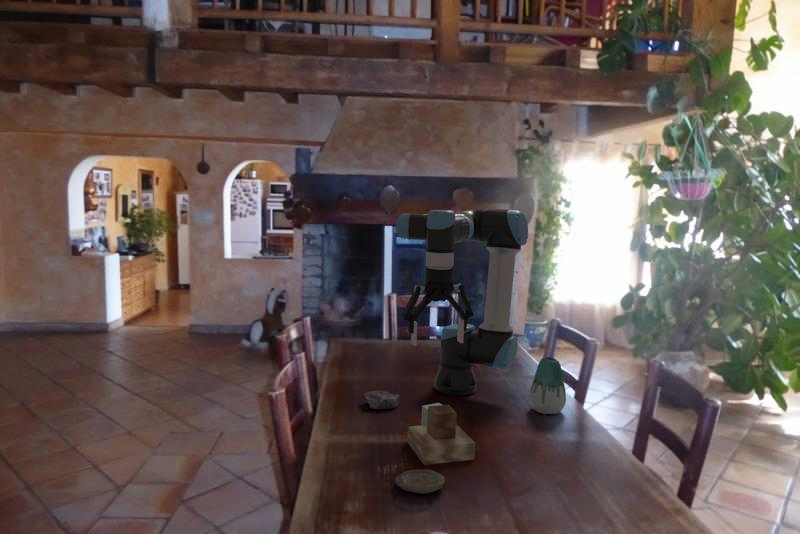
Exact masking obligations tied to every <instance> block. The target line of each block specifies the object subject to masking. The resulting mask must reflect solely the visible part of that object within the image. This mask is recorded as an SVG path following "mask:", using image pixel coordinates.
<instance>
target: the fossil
mask: <svg viewBox="0 0 800 534" xmlns="http://www.w3.org/2000/svg"><path fill="white" fill-rule="evenodd" d="M445 480H446V479H445V476H444V475H442V474H441V473H439V472H437V471H435V470H432V469H410V470H406V471H403V472H402V473H400V474H399V475H398V476H396V477H395V483H396V485H397V486H398V488H400V489H402V490H403V491H405V492H410V493H416V494H430V493H435V492H436V491H438V490H441V489H442V488H443V487H444V484H445V482H446V481H445Z"/></svg>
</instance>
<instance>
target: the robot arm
mask: <svg viewBox="0 0 800 534" xmlns="http://www.w3.org/2000/svg"><path fill="white" fill-rule="evenodd" d="M395 229H396V234H397V236H398V237H399V238H400V239H404V240H415V241H426V249H425V251H426V253H425V265H426V266H427V267H426V268H425V277H424V279H425V283H424V285H419V284H414V285H413V288H412V289H413V290H412V293H411V296H410V298H409V300H408V301H407V304H406V305H405V308H404V310H403V311H402V314H401V318H402V319H403V320H404V321H407V332H408V333H409V334H411V335H410V337H411V338H410V344H411V345H413V346H414V347H417V345H418V344H417V343H418V342H417V340H418V339H417V338H418V322H417V321H416V320H417V318H418V317H419V316H420V315H421V314H422V313H423V311H424V310H425V309H426V308H427V306H429V304H430V303H432V302H436V303H437V302H446V301H447V302H448V303H449V304H450V305H451V307H452V309H454V310H455V311H456V313H457V314H458V315H459V317H458V318H457V323H456V324H449V325H446V326H444V327H443V328H442V329H441V334H440V355H439V368H438V370H437V372H436V373H437V374H436V376H435V379H434V382H433V389H435V391H436V392H439V393H441V394H445V395H451V396H467V395H472V394H474V393H476V391H477V385H478V384H477V381H476V377H475V372H474V370H473V367H474V366H473V364H474V365H477V366H478V365H479V366H484V367H490V368H493V369H502V370H506V369H508V368H510V366H511V365H512V364H513V362H514V360H515V358H516V355H517V353H518V352H517V351H518V344H519V343H518V341H519V339H518V337H517V336H515V335H513V334H514V333H513V332H514V329H513V328H512V326H511V325H510V320H511V319H510V318H511V316H510V315H511V308H512V297H513V285H514V284H513V283H514V274H515V265H516V264H515V263H516V255H517V254H519V253H520V252H521V250H522V249H521V247H522V246H525V245H526V244H527V242H528V238H529V226H528V221H527V216H526V215H525V214H524V213H523V212H522V211H521V210H516V209H500V208H499V209H497V208H495V209H494V208H474V209H467V210H459V211H455V212H454V211H453V210H449V209H447V210H446V209H431V210H429V211H428V213H402V214H400V215H399V216H398V218H397V220H396V225H395ZM466 241H473V242H479V243H486V246H485V247H486V249H487V250H488V252H489V262H488V275H487V284H486V285H487V286H486V294H485V306H484V316H483V319H484V320H483V322H482V323H481V324H479V326H478V330H476V327H475V325H474V324H472V323H471V324H470V323H468V320H469V319H470V318H473V317H474V316H475V313H474V312H473V309H472V307H471V304H470V302H469V300H468V298H467V296H466V293H465V286H464V284H461V283H460V282H458V283H456V284H454V269H453V266H454V264H455V263H454V260H455V256H454V255H455V244H457V243H460V244H461V243H464V242H466ZM423 292H424V293H425V294H424V296H423V297H422V299H421V300H420V302H419V303H418V304H417V302H418V300H419V297H420V295H421V294H422V293H423ZM453 292H456V294H457V296H458V298H459V300H460V302H461V305H462V306H463V308H461V306H460V305H459V304H458V302H457V301H456V300H455V298H454V297H453V295H452V294H453ZM416 304H417V305H416ZM463 309H464V310H463Z"/></svg>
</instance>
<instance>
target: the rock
mask: <svg viewBox="0 0 800 534" xmlns="http://www.w3.org/2000/svg"><path fill="white" fill-rule="evenodd" d="M363 396H364V398H365V401H366V402H367V405H368V406H369V408H370V409H372V410H389V409H394V408H397V407H398V405H399V404H400V395H399V394H398V393H394V394H393V393H390V392H389V391H384V390H381V389H378V390H372V391H367V392H364V395H363Z"/></svg>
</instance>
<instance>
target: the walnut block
mask: <svg viewBox="0 0 800 534" xmlns="http://www.w3.org/2000/svg"><path fill="white" fill-rule="evenodd" d="M457 416H458V415H457V411H456V410H454V408H453V407H452V406H451V405H450V404H442V405H439V406H428V422H427V431H428V433H429V434H430V435H431V437H432V438H433V439H434V440H439V439H453V438H455V436H456V424H457Z"/></svg>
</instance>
